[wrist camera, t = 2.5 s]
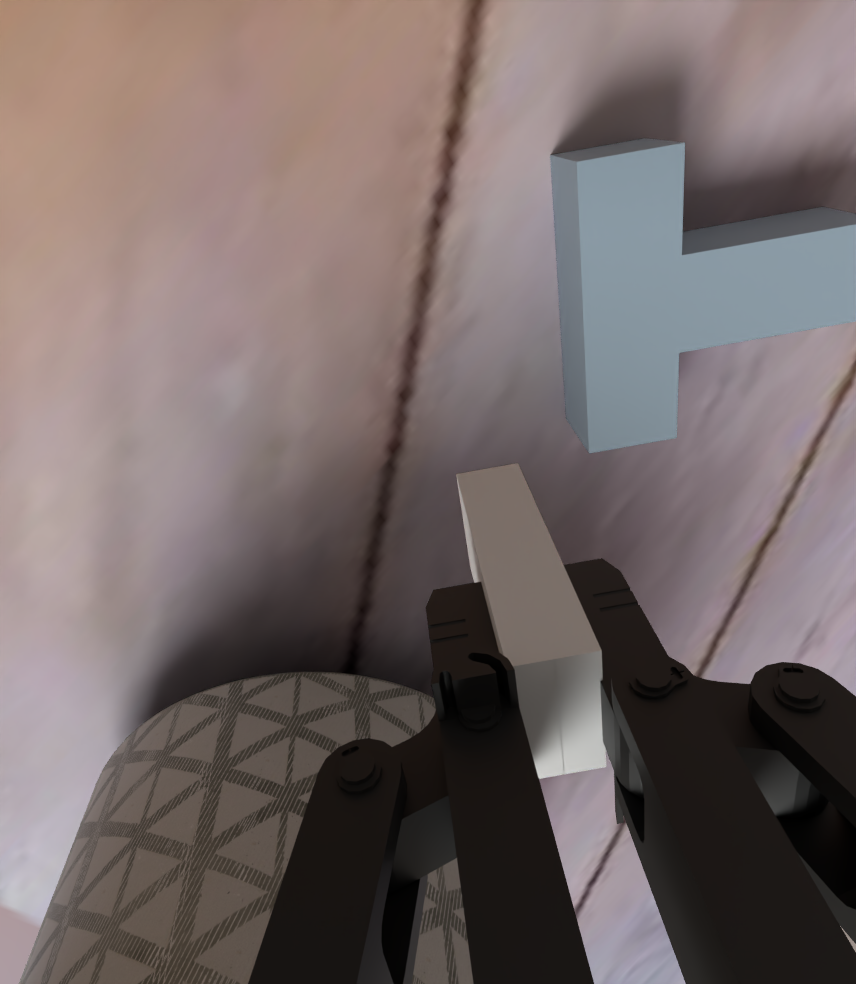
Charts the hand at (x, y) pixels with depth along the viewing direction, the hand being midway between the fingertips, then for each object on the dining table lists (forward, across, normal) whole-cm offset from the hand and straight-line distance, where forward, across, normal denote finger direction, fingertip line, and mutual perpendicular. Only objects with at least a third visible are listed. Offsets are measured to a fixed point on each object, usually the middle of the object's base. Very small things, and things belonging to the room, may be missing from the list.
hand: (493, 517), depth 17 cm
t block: (+17, +12, 0) cm, 21 cm away
